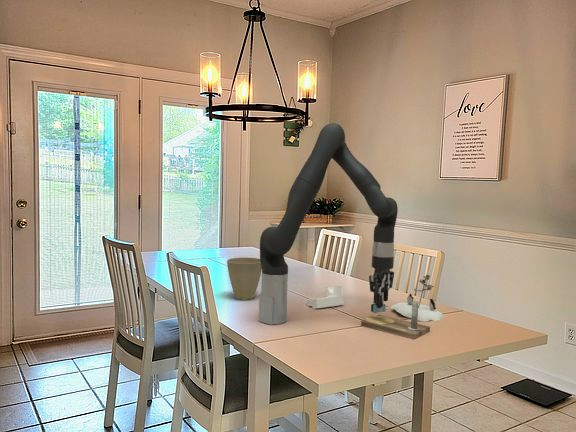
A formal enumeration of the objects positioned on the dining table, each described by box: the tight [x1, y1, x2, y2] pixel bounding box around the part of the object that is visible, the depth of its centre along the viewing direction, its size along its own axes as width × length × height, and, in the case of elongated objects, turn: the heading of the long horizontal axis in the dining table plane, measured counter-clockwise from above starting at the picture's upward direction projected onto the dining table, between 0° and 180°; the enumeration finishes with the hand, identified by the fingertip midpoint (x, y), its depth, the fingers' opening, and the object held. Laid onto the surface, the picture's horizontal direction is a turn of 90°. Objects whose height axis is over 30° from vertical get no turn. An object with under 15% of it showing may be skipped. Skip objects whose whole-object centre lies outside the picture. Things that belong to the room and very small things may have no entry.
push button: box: [370, 283, 389, 314], centre depth 177 cm, size 7×5×10 cm
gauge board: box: [360, 301, 431, 340], centre depth 173 cm, size 12×21×10 cm, turn 50°
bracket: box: [305, 285, 345, 309], centre depth 200 cm, size 13×7×8 cm, turn 122°
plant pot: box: [226, 256, 262, 301], centre depth 208 cm, size 15×15×16 cm
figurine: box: [390, 273, 445, 323], centre depth 191 cm, size 20×18×16 cm
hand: (380, 301), depth 177 cm, fingers closed on push button, 5 cm apart
